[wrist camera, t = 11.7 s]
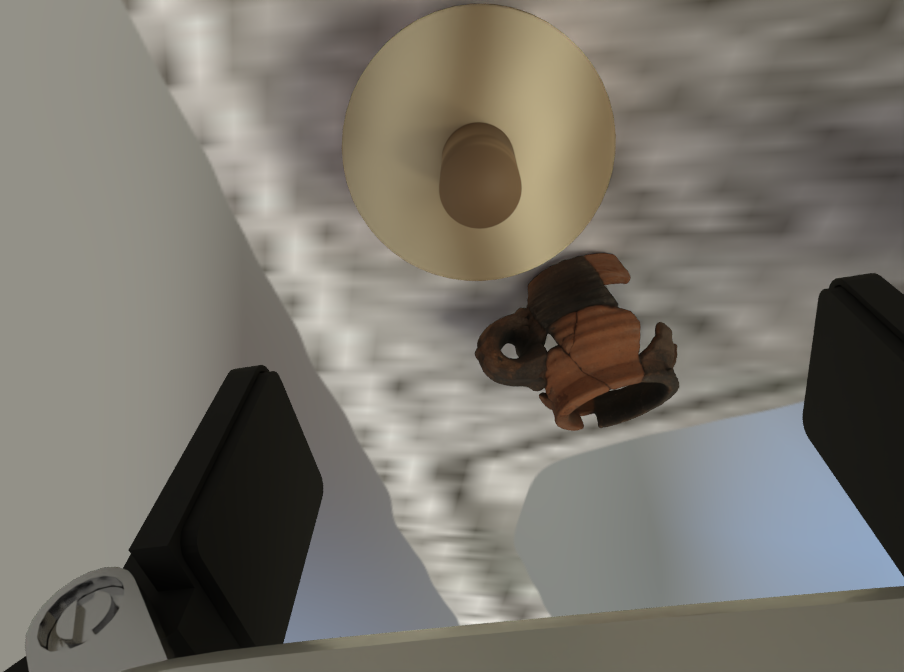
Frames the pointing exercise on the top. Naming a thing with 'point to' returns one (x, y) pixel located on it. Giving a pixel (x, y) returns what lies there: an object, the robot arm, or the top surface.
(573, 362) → the pottery mug
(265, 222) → the top surface
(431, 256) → the lid
